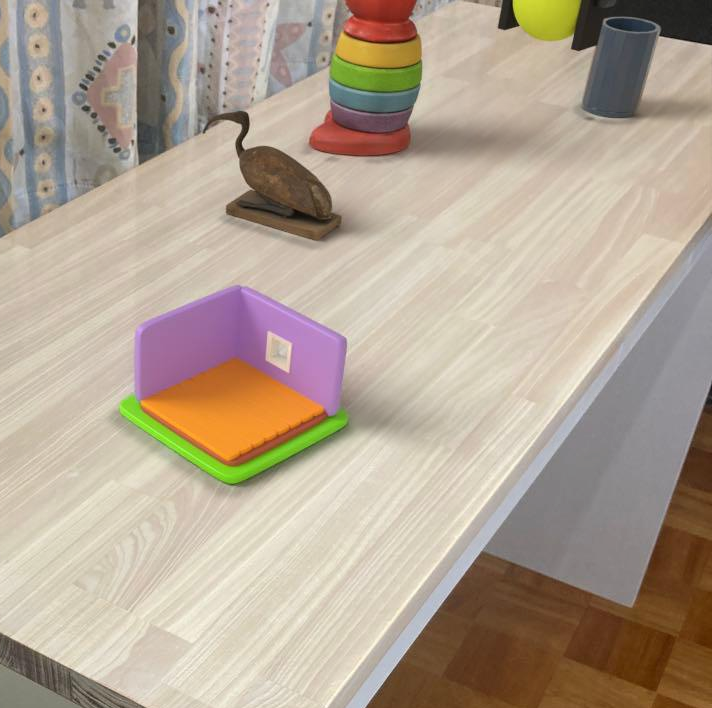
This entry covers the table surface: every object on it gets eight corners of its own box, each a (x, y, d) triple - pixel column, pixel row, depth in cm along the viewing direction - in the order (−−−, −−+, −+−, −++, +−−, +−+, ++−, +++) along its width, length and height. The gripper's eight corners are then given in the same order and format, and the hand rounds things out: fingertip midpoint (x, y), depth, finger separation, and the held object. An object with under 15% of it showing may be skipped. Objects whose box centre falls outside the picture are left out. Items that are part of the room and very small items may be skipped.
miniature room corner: (235, 354, 86) (240, 271, 81) (355, 422, 79) (368, 335, 75) (111, 410, 79) (110, 323, 75) (230, 489, 73) (236, 399, 68)
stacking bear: (329, 115, 126) (349, -63, 114) (420, 129, 123) (449, -52, 112) (304, 149, 118) (321, -38, 107) (400, 164, 115) (429, -26, 104)
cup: (647, 116, 128) (671, 32, 122) (595, 119, 127) (617, 33, 121) (621, 98, 132) (643, 15, 127) (571, 100, 131) (591, 17, 126)
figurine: (187, 202, 107) (190, 108, 102) (213, 186, 110) (217, 95, 104) (317, 241, 101) (328, 144, 96) (341, 224, 104) (353, 129, 98)
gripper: (475, -309, 85) (427, 18, 100) (718, -291, 74) (623, 74, 88) (535, -311, 89) (480, 4, 104) (775, -295, 78) (675, 56, 92)
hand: (546, 36), depth 96 cm, fingers closed on tennis ball, 7 cm apart
